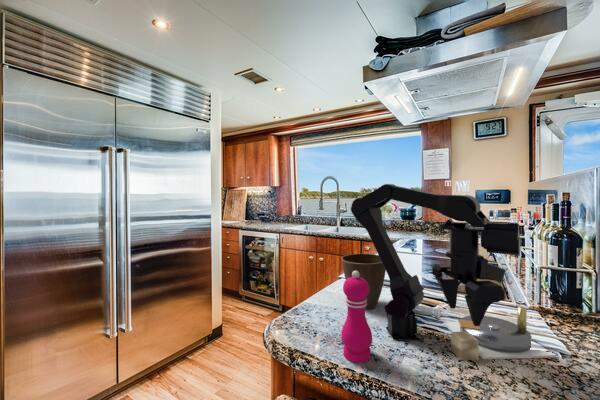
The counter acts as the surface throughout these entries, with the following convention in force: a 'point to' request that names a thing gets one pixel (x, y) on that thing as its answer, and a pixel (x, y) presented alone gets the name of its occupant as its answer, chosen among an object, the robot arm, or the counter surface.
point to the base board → (495, 354)
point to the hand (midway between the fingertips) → (463, 316)
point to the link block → (465, 345)
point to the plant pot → (366, 274)
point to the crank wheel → (500, 332)
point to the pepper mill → (356, 320)
